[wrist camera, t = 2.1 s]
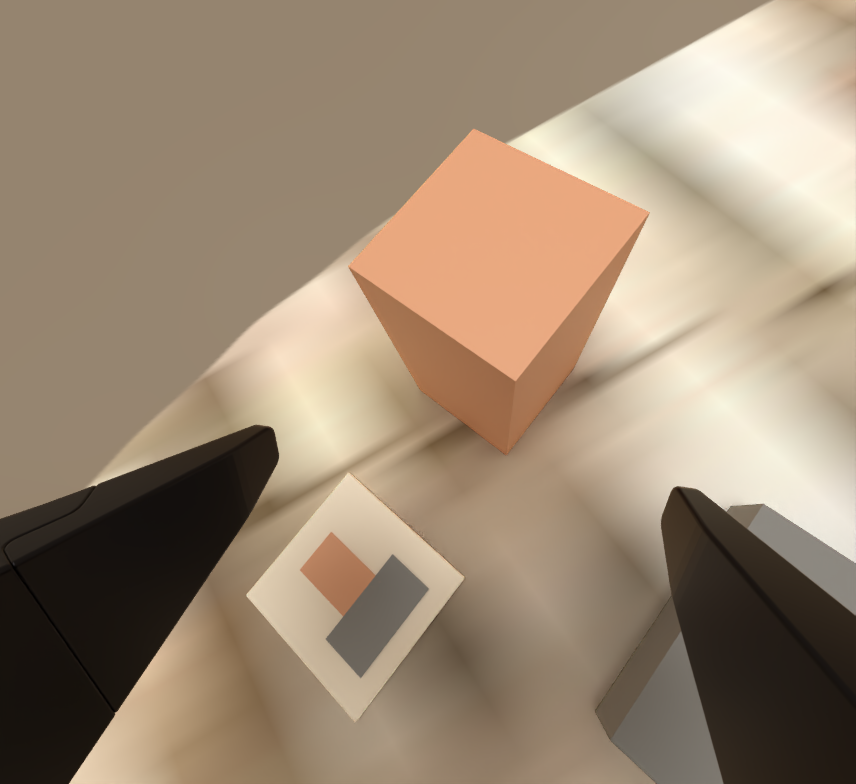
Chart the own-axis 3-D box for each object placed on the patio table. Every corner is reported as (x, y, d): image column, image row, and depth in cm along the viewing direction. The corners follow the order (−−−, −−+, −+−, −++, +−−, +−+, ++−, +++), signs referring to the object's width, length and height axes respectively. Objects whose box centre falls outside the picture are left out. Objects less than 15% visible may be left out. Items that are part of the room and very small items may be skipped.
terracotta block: (506, 455, 22) (515, 381, 10) (420, 389, 24) (348, 266, 12) (573, 368, 22) (649, 212, 11) (484, 311, 24) (473, 128, 13)
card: (357, 719, 19) (354, 724, 19) (249, 594, 22) (244, 595, 21) (465, 577, 20) (464, 578, 20) (350, 473, 23) (347, 472, 22)
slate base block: (864, 955, 15) (950, 1056, 12) (592, 706, 18) (610, 740, 15) (999, 690, 16) (1104, 724, 14) (725, 506, 20) (763, 503, 17)
